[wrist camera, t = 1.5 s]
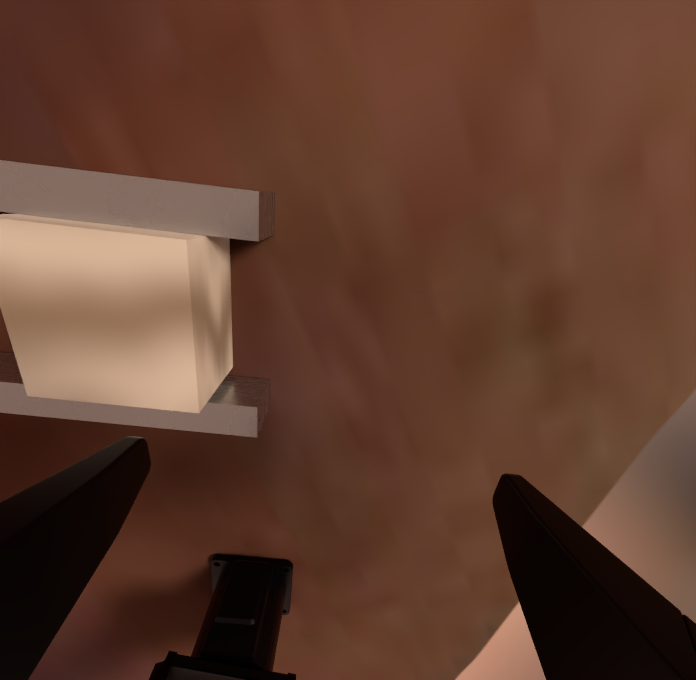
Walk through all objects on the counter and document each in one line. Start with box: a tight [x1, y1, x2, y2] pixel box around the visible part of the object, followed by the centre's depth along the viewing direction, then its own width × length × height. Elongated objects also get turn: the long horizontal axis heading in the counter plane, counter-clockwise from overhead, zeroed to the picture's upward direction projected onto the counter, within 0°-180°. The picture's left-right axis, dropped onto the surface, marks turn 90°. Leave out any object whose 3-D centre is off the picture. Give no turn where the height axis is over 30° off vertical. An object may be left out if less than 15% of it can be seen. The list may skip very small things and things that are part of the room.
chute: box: [0, 160, 275, 437], centre depth 17 cm, size 13×18×3 cm
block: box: [0, 214, 233, 413], centre depth 16 cm, size 8×8×5 cm
